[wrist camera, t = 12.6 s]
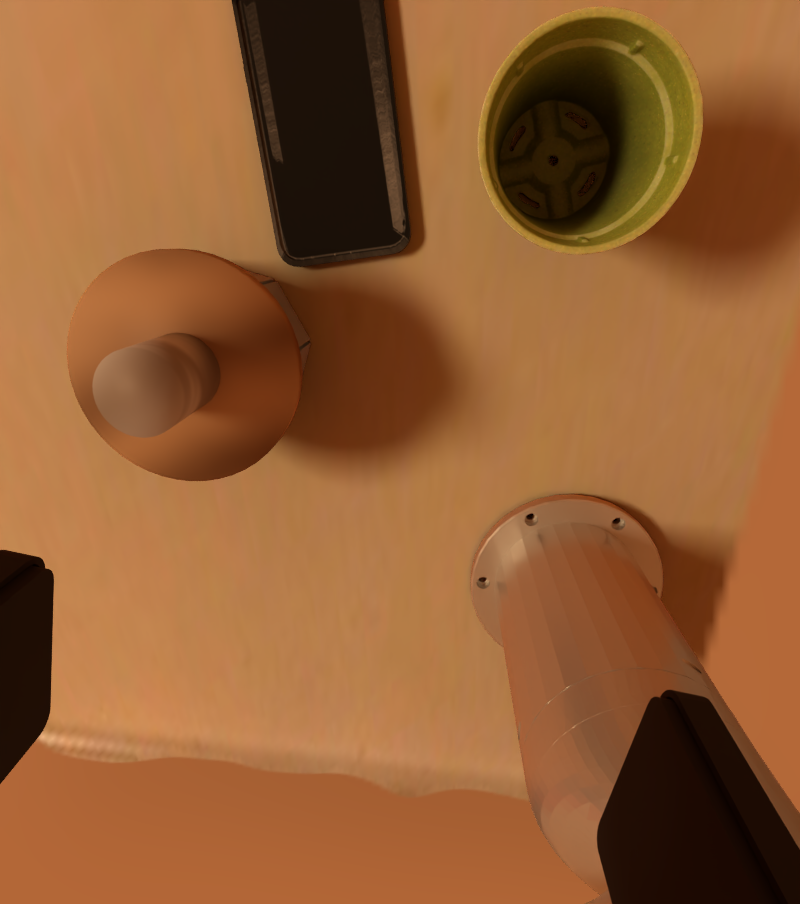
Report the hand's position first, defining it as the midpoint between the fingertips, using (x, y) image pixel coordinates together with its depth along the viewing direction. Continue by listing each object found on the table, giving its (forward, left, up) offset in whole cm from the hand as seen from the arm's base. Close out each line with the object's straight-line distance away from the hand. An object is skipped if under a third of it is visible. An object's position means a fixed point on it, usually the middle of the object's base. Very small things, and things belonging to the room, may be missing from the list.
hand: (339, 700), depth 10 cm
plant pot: (+6, -12, -31) cm, 33 cm away
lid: (+6, +10, -24) cm, 27 cm away
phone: (+14, -2, -31) cm, 34 cm away
